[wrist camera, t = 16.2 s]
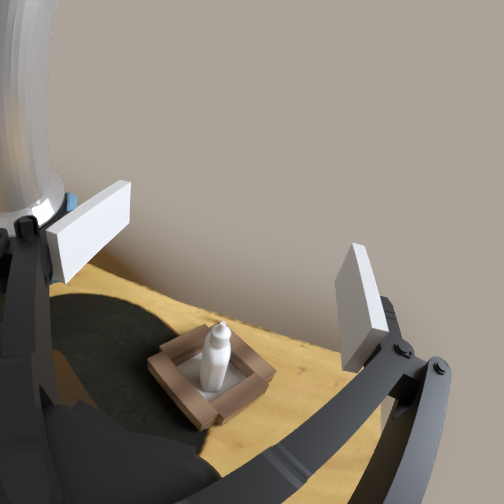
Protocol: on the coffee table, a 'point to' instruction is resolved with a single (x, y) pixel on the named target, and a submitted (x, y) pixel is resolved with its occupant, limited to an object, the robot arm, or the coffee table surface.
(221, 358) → the eye dropper bottle
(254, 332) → the coffee table surface
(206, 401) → the socket block
